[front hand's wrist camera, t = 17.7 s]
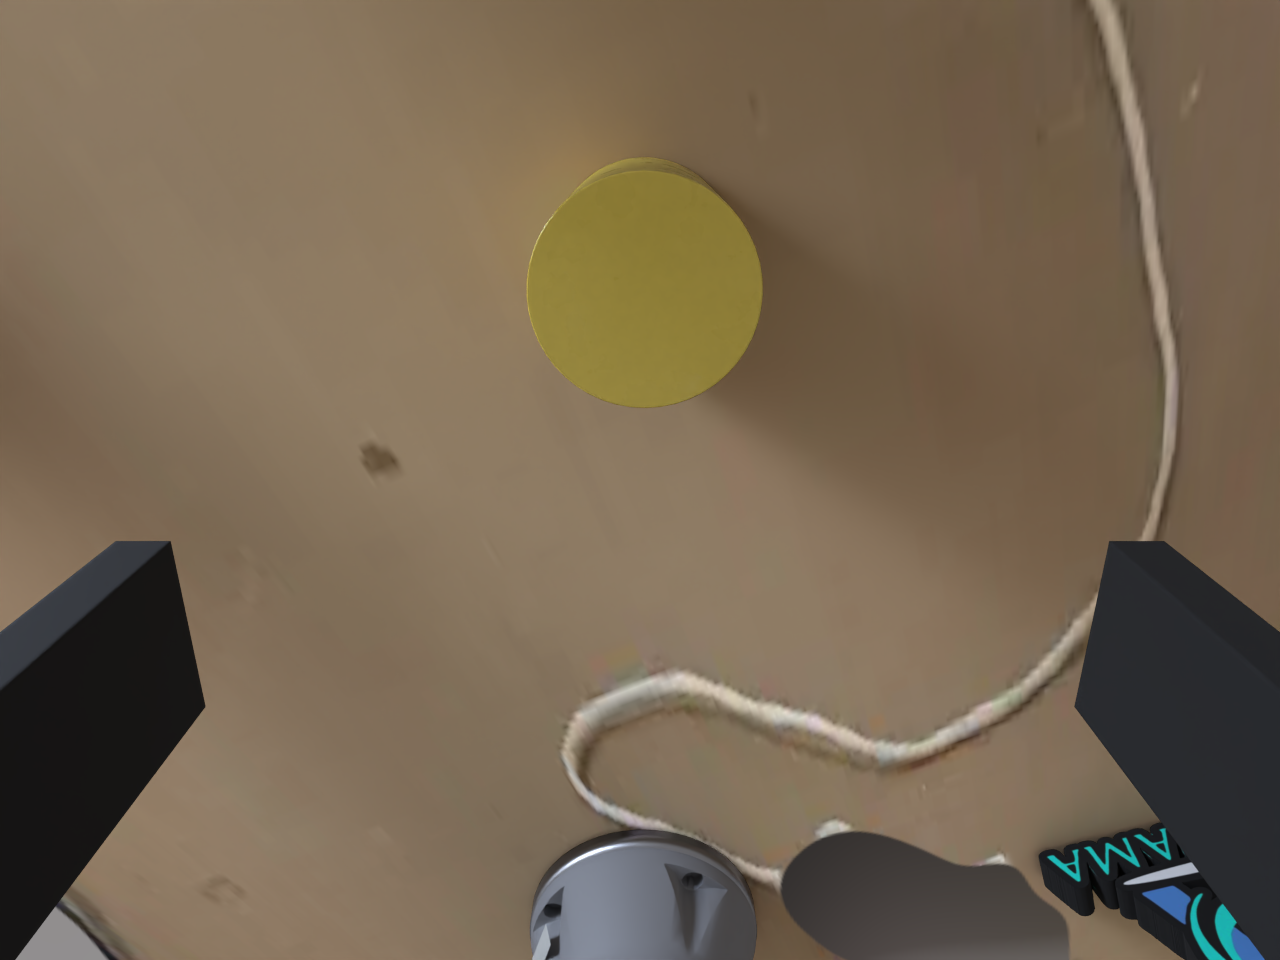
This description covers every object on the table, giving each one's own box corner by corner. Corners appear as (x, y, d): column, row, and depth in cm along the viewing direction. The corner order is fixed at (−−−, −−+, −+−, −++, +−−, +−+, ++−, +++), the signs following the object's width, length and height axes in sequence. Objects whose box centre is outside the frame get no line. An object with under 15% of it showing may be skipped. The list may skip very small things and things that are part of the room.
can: (747, 169, 44) (781, 186, 33) (720, 350, 47) (743, 420, 36) (562, 146, 43) (535, 156, 32) (547, 330, 47) (518, 395, 36)
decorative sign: (1333, 780, 57) (1555, 993, 43) (1335, 809, 58) (1553, 1026, 44) (1036, 852, 60) (1155, 1076, 46) (1041, 879, 60) (1161, 1107, 46)
